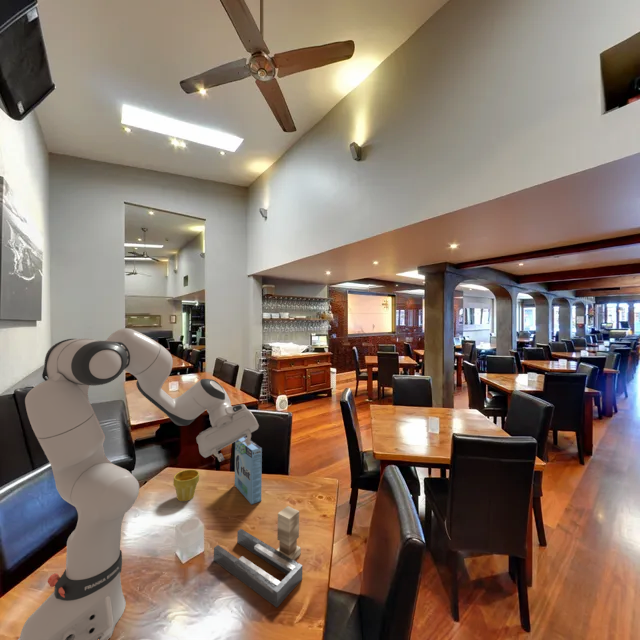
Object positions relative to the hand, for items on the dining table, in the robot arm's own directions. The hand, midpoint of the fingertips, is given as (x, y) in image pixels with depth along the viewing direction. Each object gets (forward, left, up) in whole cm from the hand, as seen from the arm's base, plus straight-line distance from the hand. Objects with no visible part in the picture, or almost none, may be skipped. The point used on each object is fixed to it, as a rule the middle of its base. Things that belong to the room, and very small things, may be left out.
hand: (235, 452), depth 95 cm
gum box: (+29, +26, -35) cm, 52 cm away
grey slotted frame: (+2, -8, -34) cm, 35 cm away
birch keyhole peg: (+12, -13, -34) cm, 39 cm away
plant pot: (+11, +45, -35) cm, 58 cm away
